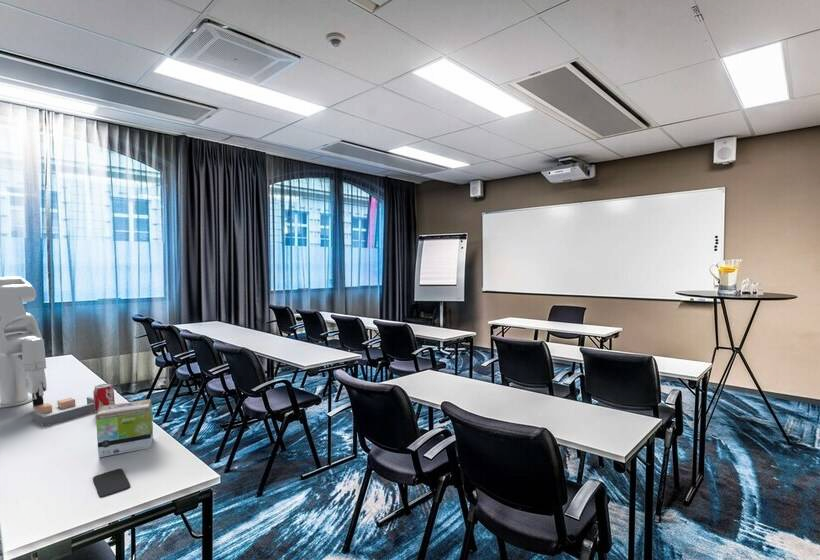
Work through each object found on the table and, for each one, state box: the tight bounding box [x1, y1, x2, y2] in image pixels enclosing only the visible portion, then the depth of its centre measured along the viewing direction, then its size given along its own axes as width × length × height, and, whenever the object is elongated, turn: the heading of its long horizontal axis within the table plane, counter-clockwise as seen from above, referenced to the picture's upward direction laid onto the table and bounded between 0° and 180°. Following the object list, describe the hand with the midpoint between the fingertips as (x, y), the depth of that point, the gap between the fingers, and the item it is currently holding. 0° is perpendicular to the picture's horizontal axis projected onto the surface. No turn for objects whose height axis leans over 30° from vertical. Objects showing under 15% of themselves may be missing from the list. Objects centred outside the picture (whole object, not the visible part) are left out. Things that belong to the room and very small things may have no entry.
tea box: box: [95, 398, 154, 459], centre depth 146 cm, size 15×10×15 cm, turn 117°
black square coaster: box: [92, 468, 131, 498], centre depth 123 cm, size 7×1×15 cm
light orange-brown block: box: [32, 402, 53, 415], centre depth 184 cm, size 5×5×3 cm
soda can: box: [92, 383, 116, 415], centre depth 179 cm, size 7×7×12 cm
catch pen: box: [31, 396, 95, 427], centre depth 180 cm, size 13×20×4 cm, turn 148°
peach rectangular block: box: [56, 397, 76, 410], centre depth 190 cm, size 5×5×3 cm
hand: (38, 407), depth 187 cm, fingers closed
